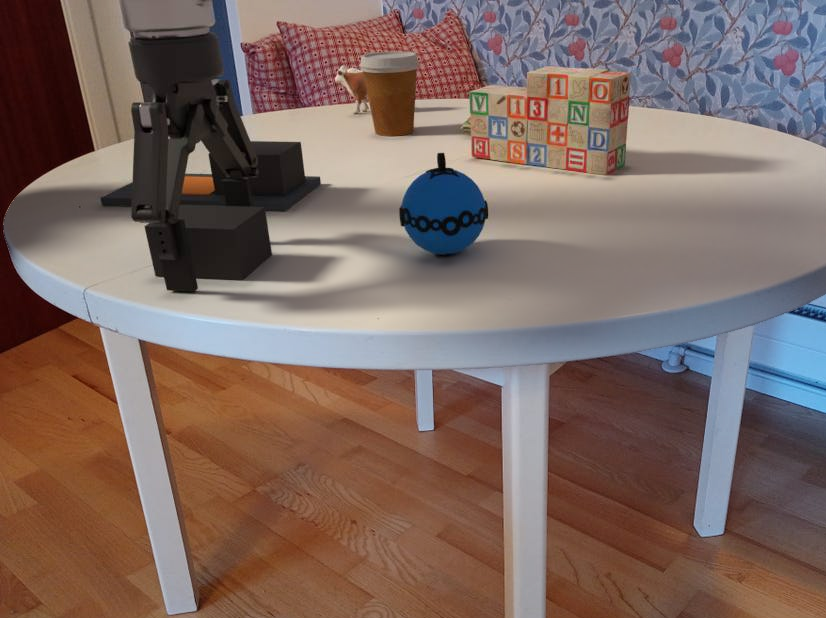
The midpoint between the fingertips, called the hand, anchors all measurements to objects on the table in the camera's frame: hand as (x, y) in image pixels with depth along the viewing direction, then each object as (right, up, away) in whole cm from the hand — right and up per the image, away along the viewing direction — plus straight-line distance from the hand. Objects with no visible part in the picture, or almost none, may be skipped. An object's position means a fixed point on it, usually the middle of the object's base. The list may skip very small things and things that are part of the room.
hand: (216, 263), depth 81 cm
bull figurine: (+6, +36, +70) cm, 79 cm away
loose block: (0, 0, 0) cm, 0 cm away
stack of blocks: (+35, +18, +34) cm, 52 cm away
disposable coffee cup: (+12, +28, +54) cm, 62 cm away
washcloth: (+32, +29, +54) cm, 69 cm away
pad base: (-8, +12, +23) cm, 27 cm away
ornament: (+23, +1, +2) cm, 23 cm away
